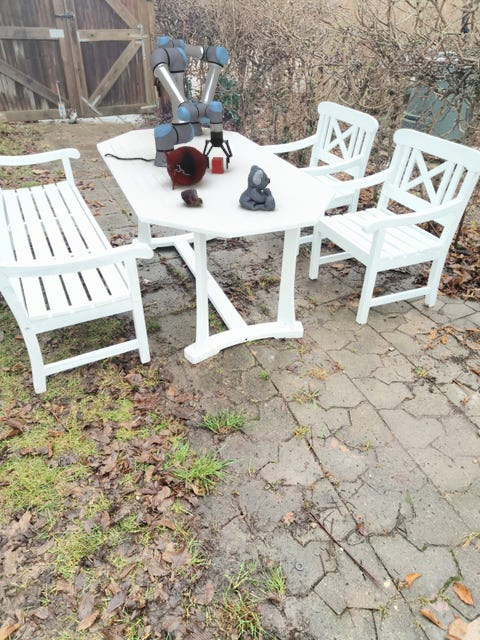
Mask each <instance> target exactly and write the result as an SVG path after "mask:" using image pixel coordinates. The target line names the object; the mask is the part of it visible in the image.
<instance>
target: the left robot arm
mask: <svg viewBox="0 0 480 640" xmlns="http://www.w3.org/2000/svg"><path fill="white" fill-rule="evenodd" d="M187 66H188V56H186V54H185V52H184V51H183V50H182V49H181V48H176V47H173V48H159V49H158V48H156V49H154V50H153V51H152V53H151V55H150V57H149V67H150V70H151V72H152V74H153V75H154V78H156V77H158V81H159V80H160V82H161V83H160V84H161V85H162V87H163V88H164V89H165V91H166V93H167V94H168V96H169V98H170V104H171V111H172V120H171V123H161V124H159V125H156V126H155V127H154V129H153V136H154V145H155V155H154V158H152V159H151V158H150V159H146V158H143V157H127V158H125V157H119V156H117V155H115V154H112V153H105V154H104V157H107V156H111V157H113V158H115V159H118V160H127V161H131V160H133V161H134V160H143V161H145V162H154V165H155V166H157V167H163V168H164V167H165V168H167V159H166V158H167V157H166V155H165V153H164V152H163V150H165V151H166V152H167V153H168V154H169V153H170V152H171V151H173V150H175V146H178V145H183V144H187V143H191V142H192V141H193V139H194V137H195V136H194V128H193V126H192V124H191V123H190V122H189V120H194V119H201V118H209V119H210V122H209V131H210V132H209V135H210V138H209V139H205V140H204V143H205V144H204V148H203V151H202V154H203V155H204V156H205V157H206V159H207V162H208V165H207V170H209V169H210V156H209V155H210V153H211V151H212V150H213V148H219V149H221V150H222V152H223V153H224V155H225V167H226V169H225V170H228V169H229V164H230V162H231V158H233V152H232V149H231V146H230V144H229V139H224V131H223V129H224V123H223V121H224V120H223V119H224V118H223V110H224V109H223V103H222V102H221V101H217V100H213V101H212V102H210V103H209V104H206V103H199V104H197V105H192V106H191V105H190V104H189V103H190V102H189V101H188V99H187V97H186V96H185V90H184V88H185V87H184V78H183V75H184V74H185V70H186V69H187ZM209 144H210V145H211V146H210V148H209V149H208V145H209ZM224 145H225V146H226V148H225V146H224ZM207 149H208V150H207ZM226 149H227V150H226Z"/></svg>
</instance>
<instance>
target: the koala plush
mask: <svg viewBox="0 0 480 640" xmlns="http://www.w3.org/2000/svg"><path fill="white" fill-rule="evenodd" d="M270 183H271V178H269V176H268V175H267V173H266V172H265V170H264V169H263V168H261V167H259V165H257V164H253V165H250V170H249V173H248V176H247V188H246V189H245V190H244V191H243V192H242V193H241V194H240V197H239V199H238V203H239V204H240V206H241V207H242V208H246V209H247V210H252V211H255V210H261V211H272V210H274V209H275V208H276V200H275V198H274V196H273V194H272V191H271V188H270V187H268V186H269V185H270Z"/></svg>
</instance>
